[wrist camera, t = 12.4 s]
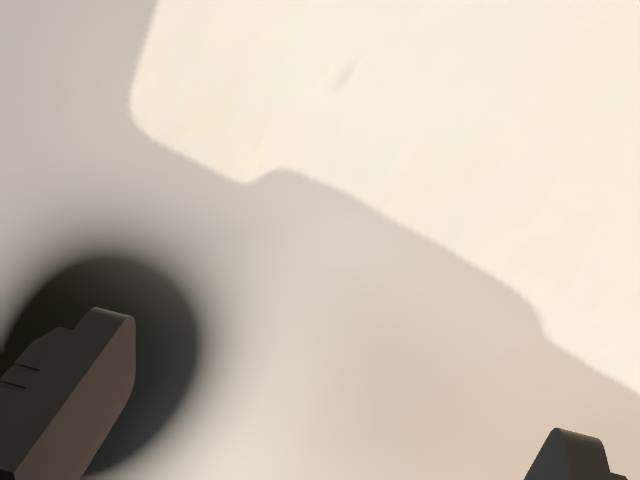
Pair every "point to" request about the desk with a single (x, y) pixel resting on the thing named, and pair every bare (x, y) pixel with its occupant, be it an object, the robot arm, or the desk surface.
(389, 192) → the desk surface
